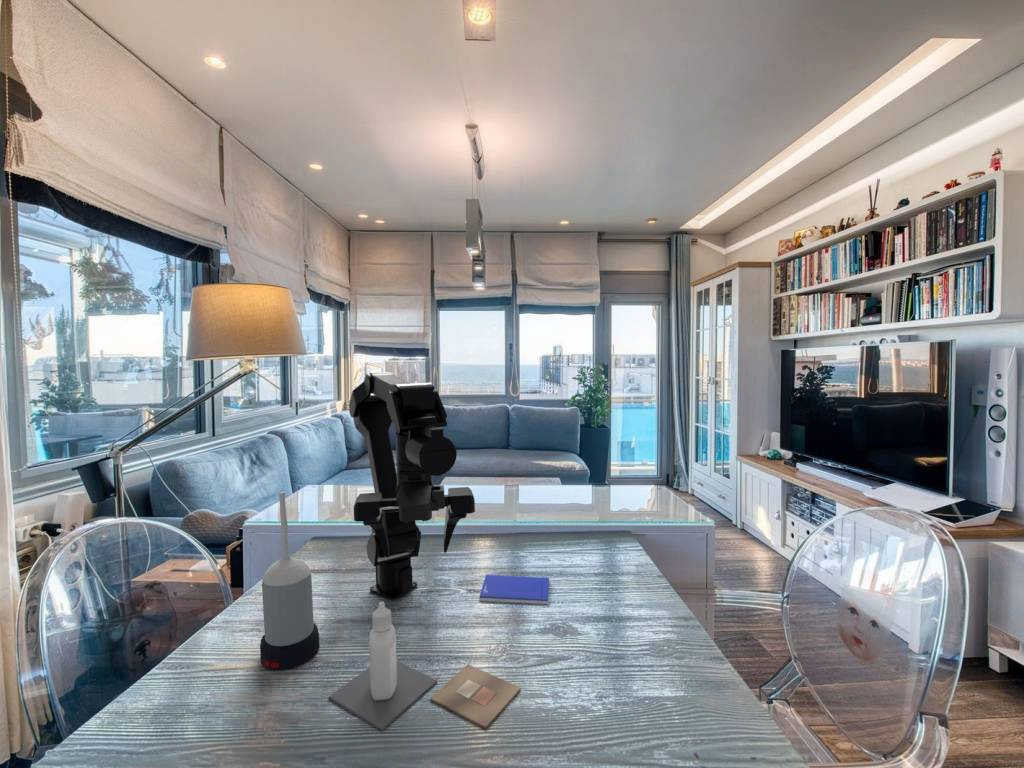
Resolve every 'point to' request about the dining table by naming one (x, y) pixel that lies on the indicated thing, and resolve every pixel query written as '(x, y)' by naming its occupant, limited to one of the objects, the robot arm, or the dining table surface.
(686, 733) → the dining table surface
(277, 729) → the dining table surface
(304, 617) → the humidifier
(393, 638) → the eye dropper bottle
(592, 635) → the dining table surface
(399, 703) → the mat
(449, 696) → the board
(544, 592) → the hard drive
